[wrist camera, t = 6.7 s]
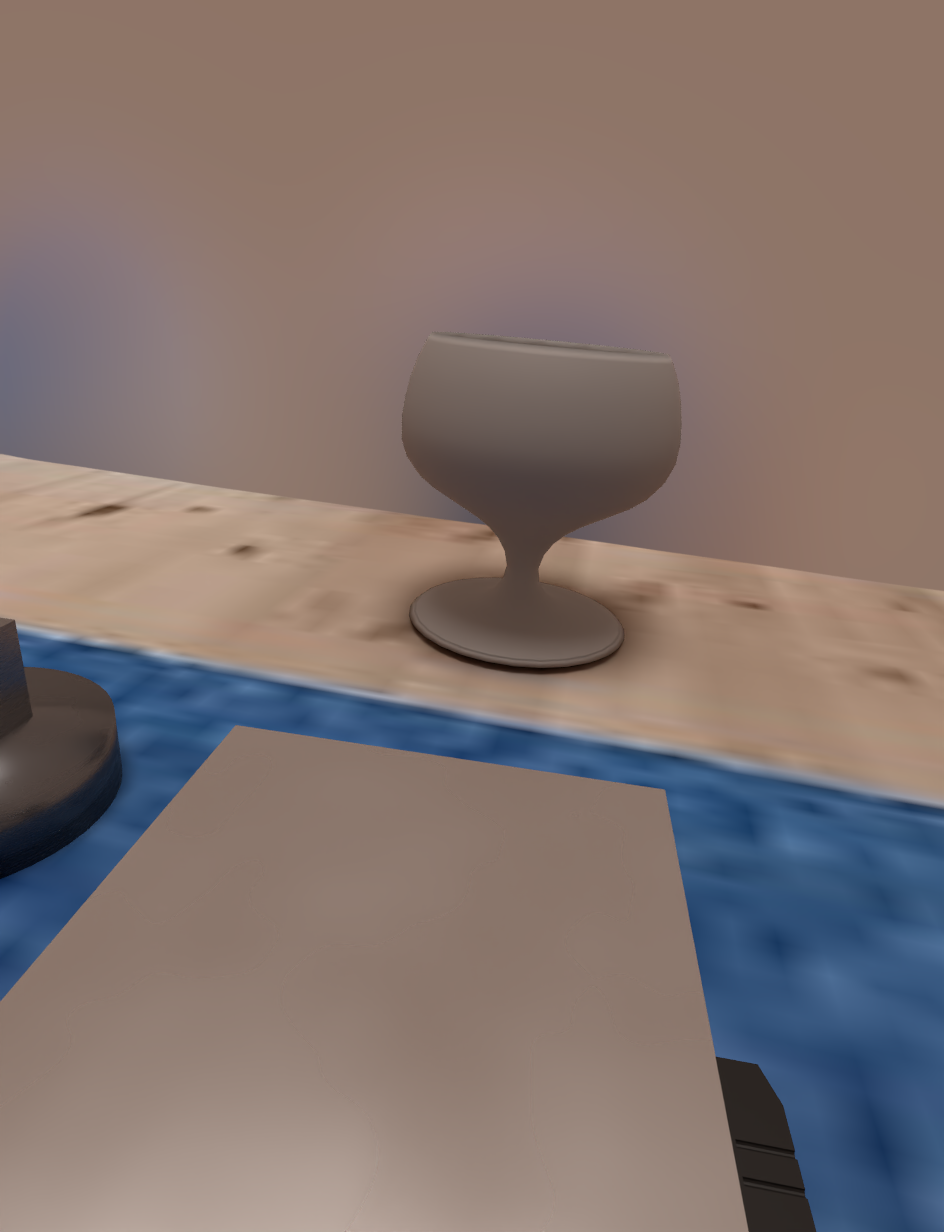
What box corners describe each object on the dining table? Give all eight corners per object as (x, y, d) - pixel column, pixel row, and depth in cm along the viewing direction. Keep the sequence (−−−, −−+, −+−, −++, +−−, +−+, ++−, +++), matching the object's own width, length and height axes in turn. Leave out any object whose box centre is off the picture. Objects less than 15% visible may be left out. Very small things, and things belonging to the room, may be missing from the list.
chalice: (502, 566, 49) (527, 336, 43) (684, 634, 41) (746, 361, 35) (340, 613, 39) (344, 324, 33) (536, 715, 31) (588, 353, 25)
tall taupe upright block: (564, 1220, 13) (664, 790, 9) (555, 1852, 8) (790, 1449, 4) (261, 1157, 14) (235, 725, 10) (54, 1703, 8) (-187, 1220, 4)
